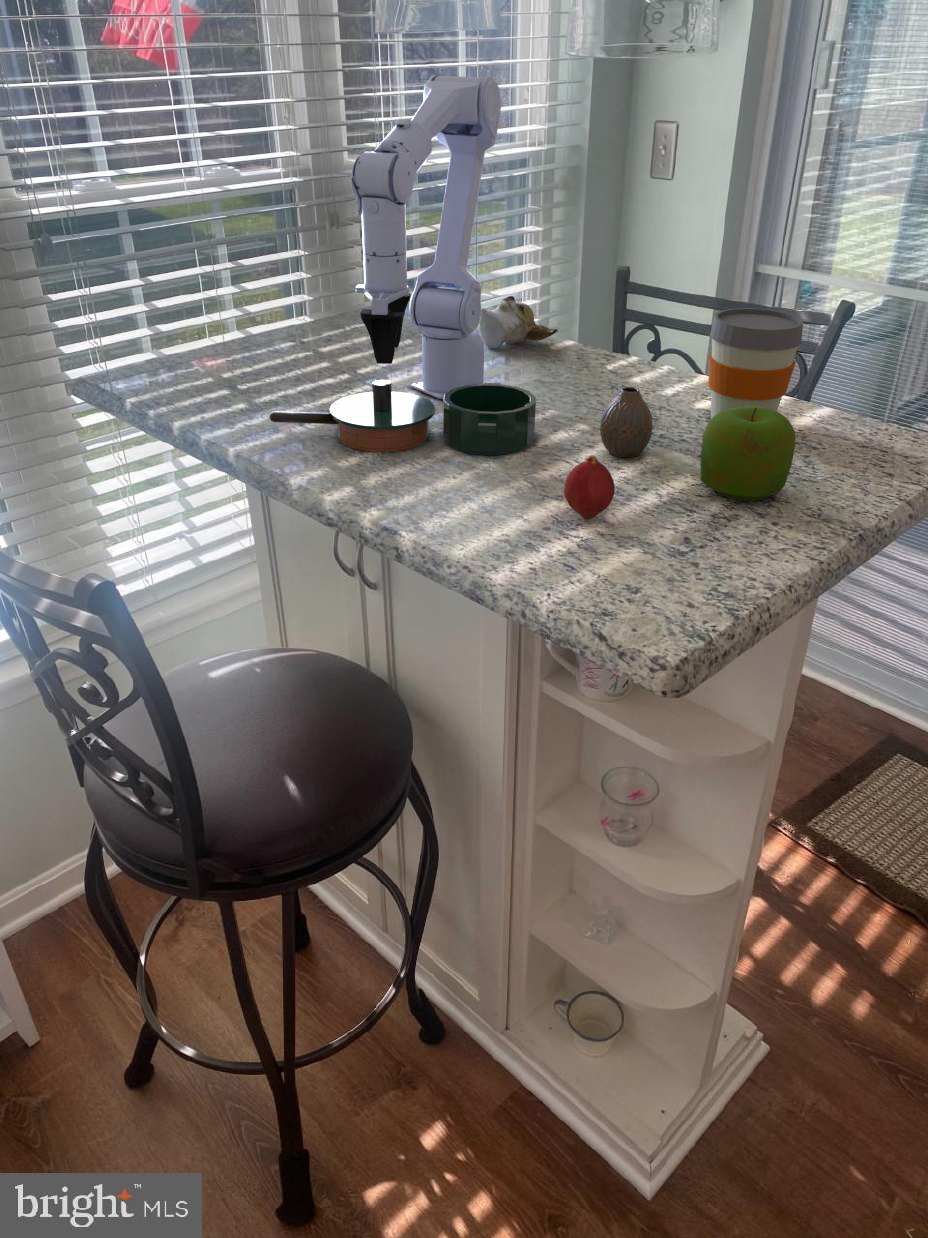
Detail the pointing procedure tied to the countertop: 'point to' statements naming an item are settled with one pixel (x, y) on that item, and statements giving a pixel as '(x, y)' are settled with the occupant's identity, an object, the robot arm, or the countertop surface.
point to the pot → (489, 419)
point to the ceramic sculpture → (510, 324)
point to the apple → (747, 452)
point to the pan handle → (302, 417)
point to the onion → (589, 488)
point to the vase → (626, 424)
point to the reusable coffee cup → (752, 357)
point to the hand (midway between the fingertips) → (388, 354)
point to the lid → (382, 409)
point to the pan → (383, 437)
